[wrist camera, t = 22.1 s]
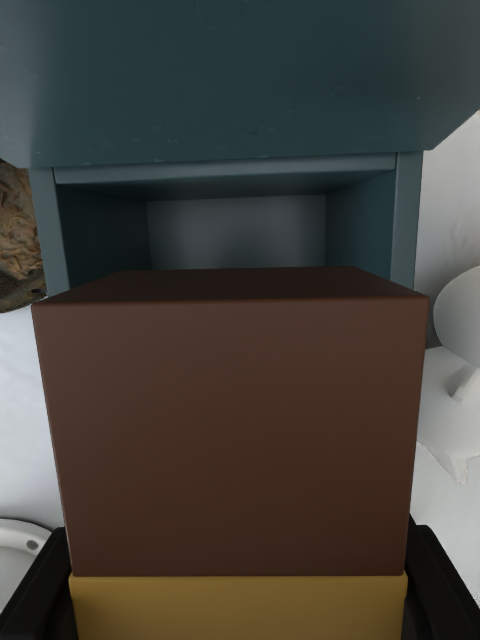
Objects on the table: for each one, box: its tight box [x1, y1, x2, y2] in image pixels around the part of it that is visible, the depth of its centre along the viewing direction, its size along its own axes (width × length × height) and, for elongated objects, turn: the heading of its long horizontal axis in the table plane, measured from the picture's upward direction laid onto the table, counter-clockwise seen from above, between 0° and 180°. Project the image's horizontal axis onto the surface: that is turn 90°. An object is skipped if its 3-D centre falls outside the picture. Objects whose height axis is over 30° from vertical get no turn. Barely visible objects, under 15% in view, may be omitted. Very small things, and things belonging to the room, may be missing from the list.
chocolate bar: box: [31, 266, 430, 640], centre depth 8 cm, size 5×12×4 cm, turn 1°
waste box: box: [28, 151, 423, 298], centre depth 20 cm, size 18×12×12 cm
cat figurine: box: [417, 265, 480, 485], centre depth 22 cm, size 9×11×12 cm
